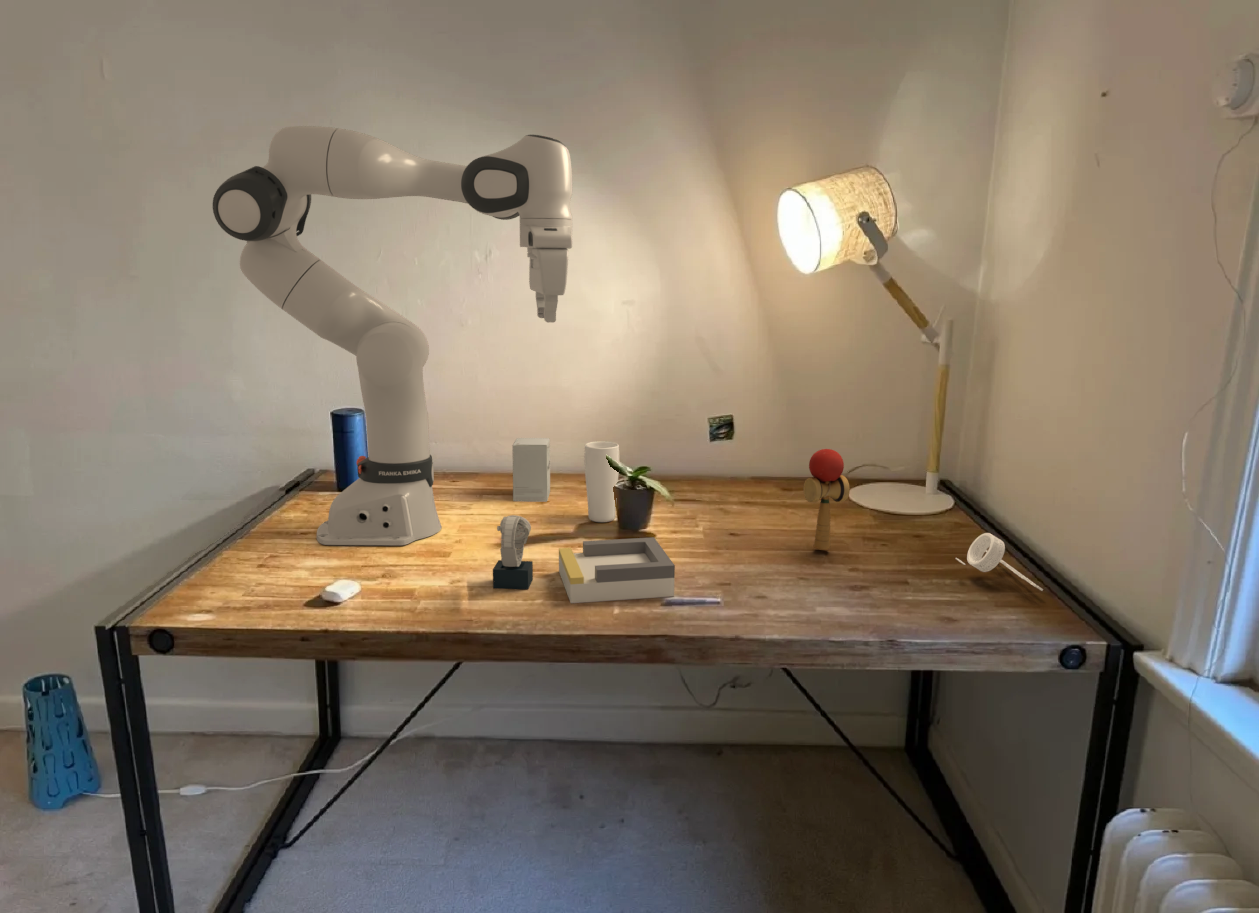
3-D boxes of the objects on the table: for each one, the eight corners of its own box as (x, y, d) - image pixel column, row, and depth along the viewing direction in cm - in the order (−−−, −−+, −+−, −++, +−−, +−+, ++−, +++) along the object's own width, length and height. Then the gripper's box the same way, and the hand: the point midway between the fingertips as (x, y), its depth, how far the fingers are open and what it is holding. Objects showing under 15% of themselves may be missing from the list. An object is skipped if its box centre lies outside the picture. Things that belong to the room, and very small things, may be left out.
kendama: (839, 541, 168) (845, 445, 164) (848, 552, 161) (855, 453, 157) (797, 541, 167) (802, 445, 163) (805, 553, 161) (810, 453, 157)
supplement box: (548, 504, 190) (547, 444, 187) (512, 503, 190) (511, 444, 187) (551, 494, 197) (550, 437, 194) (516, 494, 197) (515, 437, 195)
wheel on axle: (937, 543, 160) (959, 512, 159) (982, 571, 161) (1004, 541, 160) (981, 579, 142) (1006, 544, 141) (1031, 610, 144) (1056, 576, 143)
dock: (570, 603, 137) (570, 571, 136) (558, 571, 151) (558, 542, 150) (674, 596, 141) (674, 565, 139) (653, 565, 154) (654, 537, 153)
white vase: (618, 524, 177) (618, 448, 173) (583, 524, 177) (583, 448, 173) (619, 514, 183) (620, 441, 180) (585, 514, 183) (585, 440, 180)
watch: (534, 575, 149) (533, 510, 146) (526, 593, 141) (524, 525, 139) (500, 574, 149) (499, 509, 147) (490, 592, 142) (488, 524, 139)
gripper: (520, 237, 163) (521, 315, 166) (534, 236, 144) (535, 324, 147) (555, 238, 165) (556, 315, 168) (574, 237, 145) (573, 324, 148)
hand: (546, 320), depth 157 cm, fingers open, 8 cm apart
